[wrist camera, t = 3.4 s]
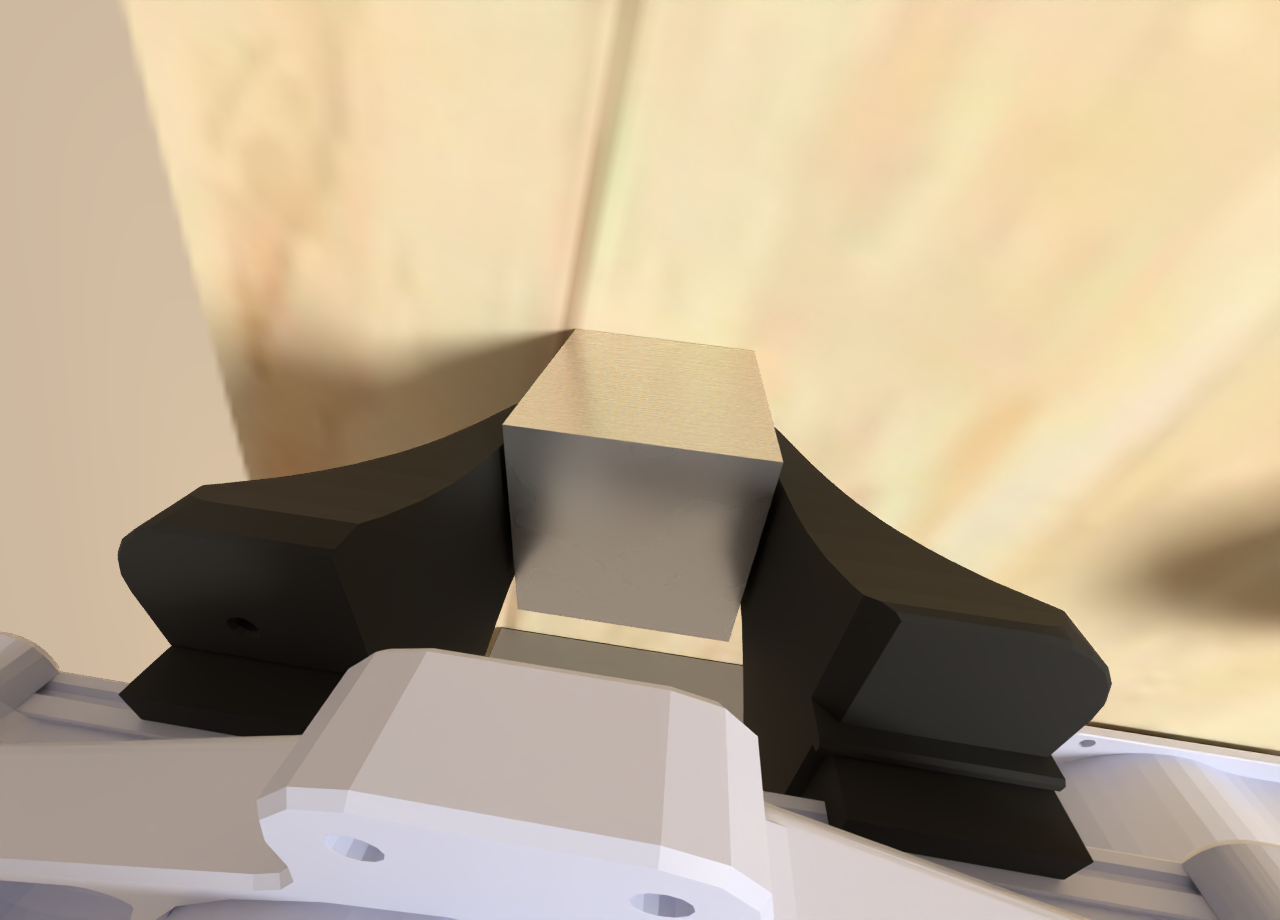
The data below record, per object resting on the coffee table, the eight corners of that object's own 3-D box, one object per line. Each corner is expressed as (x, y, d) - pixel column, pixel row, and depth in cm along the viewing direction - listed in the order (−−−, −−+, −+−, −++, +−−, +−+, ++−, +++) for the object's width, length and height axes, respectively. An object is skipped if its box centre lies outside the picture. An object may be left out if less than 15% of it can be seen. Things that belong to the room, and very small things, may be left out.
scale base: (945, 697, 17) (981, 778, 15) (818, 856, 26) (829, 923, 24) (501, 628, 18) (472, 694, 16) (522, 804, 27) (505, 864, 25)
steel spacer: (754, 351, 11) (783, 462, 7) (721, 495, 14) (728, 641, 10) (575, 329, 12) (501, 424, 7) (573, 474, 14) (517, 609, 10)
